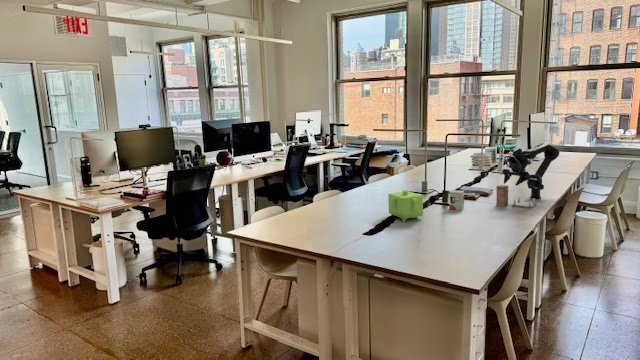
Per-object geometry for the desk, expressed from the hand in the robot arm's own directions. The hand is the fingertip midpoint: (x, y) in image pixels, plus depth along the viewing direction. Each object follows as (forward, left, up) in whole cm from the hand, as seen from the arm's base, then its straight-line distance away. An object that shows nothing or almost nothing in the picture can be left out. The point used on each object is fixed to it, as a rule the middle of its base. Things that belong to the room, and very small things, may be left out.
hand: (509, 184), depth 291 cm
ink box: (+23, -30, -13) cm, 40 cm away
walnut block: (+6, -4, -13) cm, 15 cm away
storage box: (+53, -55, -13) cm, 78 cm away
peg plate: (+3, +9, -13) cm, 16 cm away
